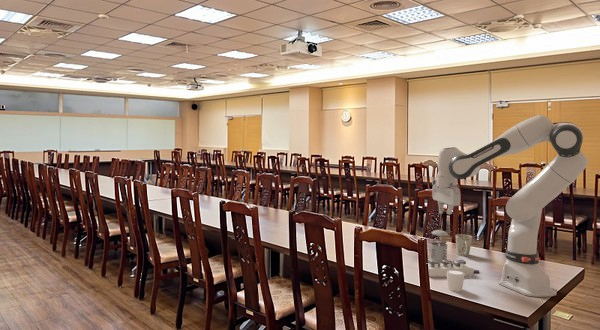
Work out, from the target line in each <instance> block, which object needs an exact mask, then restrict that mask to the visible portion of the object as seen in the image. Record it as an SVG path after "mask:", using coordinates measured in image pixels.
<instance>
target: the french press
mask: <svg viewBox="0 0 600 330" xmlns="http://www.w3.org/2000/svg"><path fill="white" fill-rule="evenodd" d="M438 214H440V218H439V219H440V220H439V225H441V221H442V220H441V219H442V214H444V211H439V212H438ZM431 234H432V235H434V236H437V238H435V239H432V240H431V241H432V242H431V243H430V255H429V256H430V257H428V260H431V261H435V262H438V263H440V261H441V260H444V261H449V260H448V244H447V243H448V242H447V240H444V239H441V237H448V236H449V233H448V232H446V231H444V230H442V229H436V230H433V231H431Z"/></svg>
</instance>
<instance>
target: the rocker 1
mask: <svg viewBox="0 0 600 330" xmlns="http://www.w3.org/2000/svg"><path fill="white" fill-rule="evenodd" d="M427 262H428V263H427V264H430V265H434V264H438V266H440V263H438V262H435V261H431V260H429V259H427Z"/></svg>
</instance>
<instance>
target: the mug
mask: <svg viewBox="0 0 600 330" xmlns="http://www.w3.org/2000/svg"><path fill="white" fill-rule="evenodd" d="M472 241H473V236H472V235H470V234H460V233H459V234H458V233H457V234H455V248H456V254H457V255H458V256H462V257H467V256H469V255H470V251H471V247H472Z"/></svg>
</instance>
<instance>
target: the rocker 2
mask: <svg viewBox="0 0 600 330" xmlns="http://www.w3.org/2000/svg"><path fill="white" fill-rule="evenodd" d="M452 263H453V264H454V265H455V266H460V264H467V261H465V260H463V259H459V260H455V261H452Z"/></svg>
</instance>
